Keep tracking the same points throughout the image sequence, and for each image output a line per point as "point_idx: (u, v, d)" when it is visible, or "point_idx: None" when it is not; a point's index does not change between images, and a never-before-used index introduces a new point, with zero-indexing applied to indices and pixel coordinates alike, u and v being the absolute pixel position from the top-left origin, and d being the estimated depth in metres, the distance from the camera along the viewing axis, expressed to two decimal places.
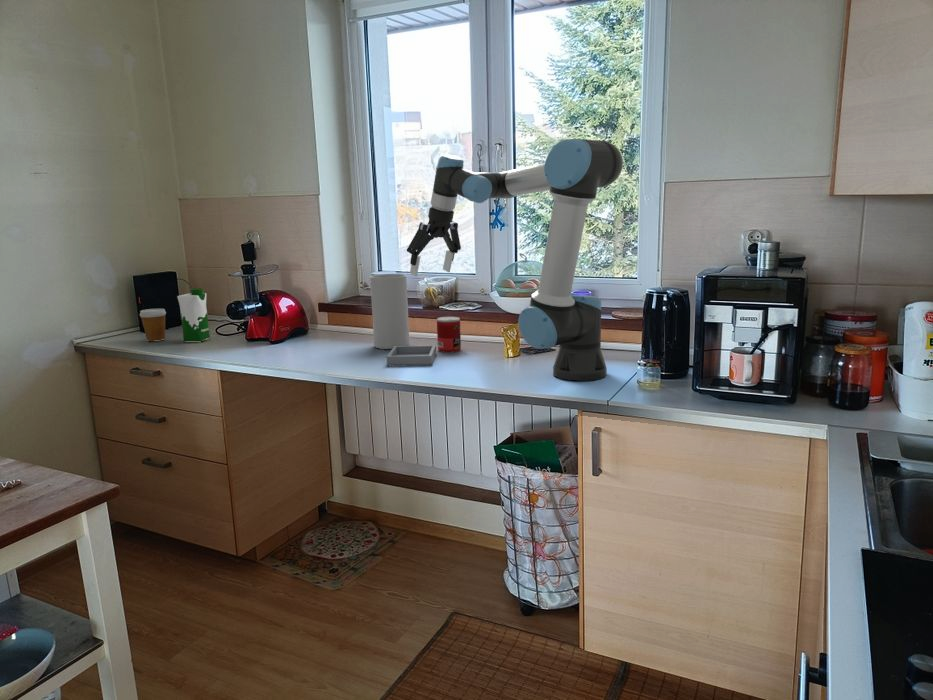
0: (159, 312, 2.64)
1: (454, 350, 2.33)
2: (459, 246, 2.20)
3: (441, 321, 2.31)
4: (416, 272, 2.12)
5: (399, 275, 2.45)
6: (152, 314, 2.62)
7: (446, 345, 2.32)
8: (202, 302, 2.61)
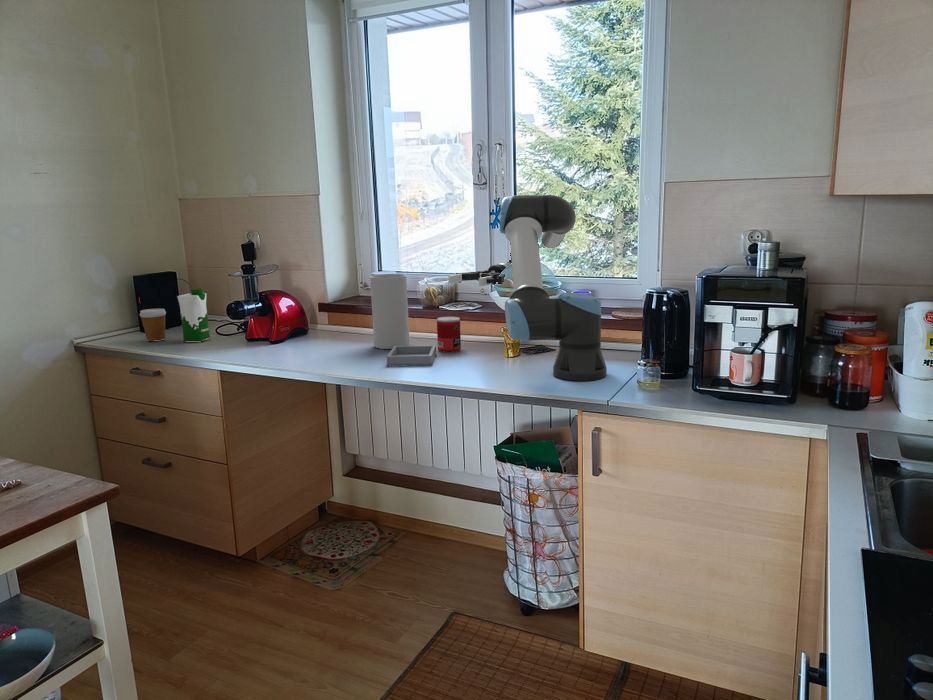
0: (159, 312, 2.64)
1: (454, 350, 2.33)
2: (500, 276, 2.38)
3: (441, 321, 2.31)
4: (451, 275, 2.43)
5: (399, 275, 2.45)
6: (152, 314, 2.62)
7: (446, 345, 2.32)
8: (202, 302, 2.61)
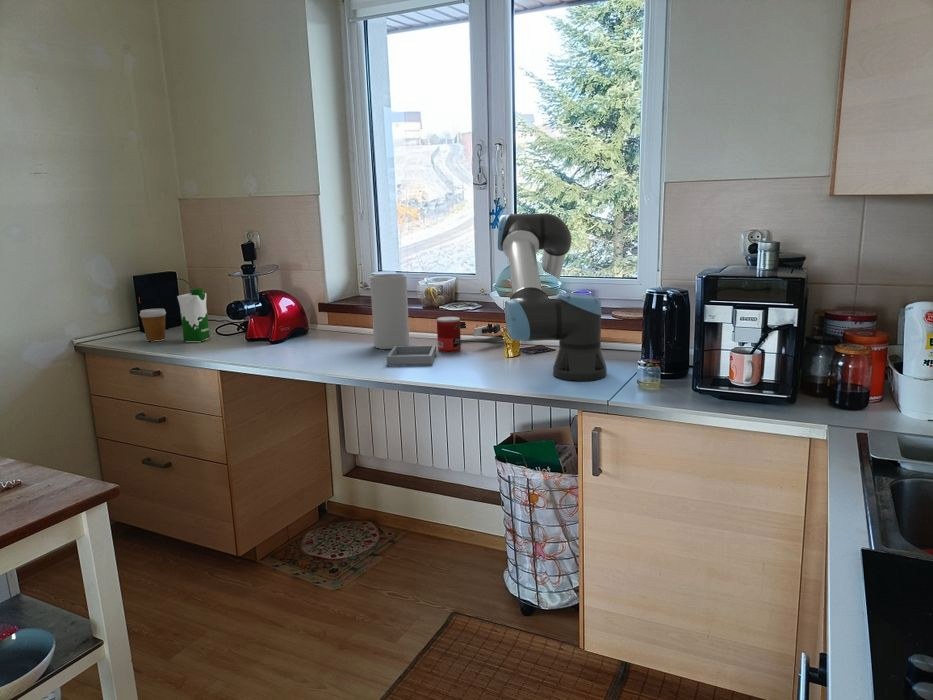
0: (159, 312, 2.64)
1: (454, 350, 2.33)
2: (496, 326, 2.40)
3: (441, 321, 2.31)
4: None
5: (399, 275, 2.45)
6: (152, 314, 2.62)
7: (446, 345, 2.32)
8: (202, 302, 2.61)
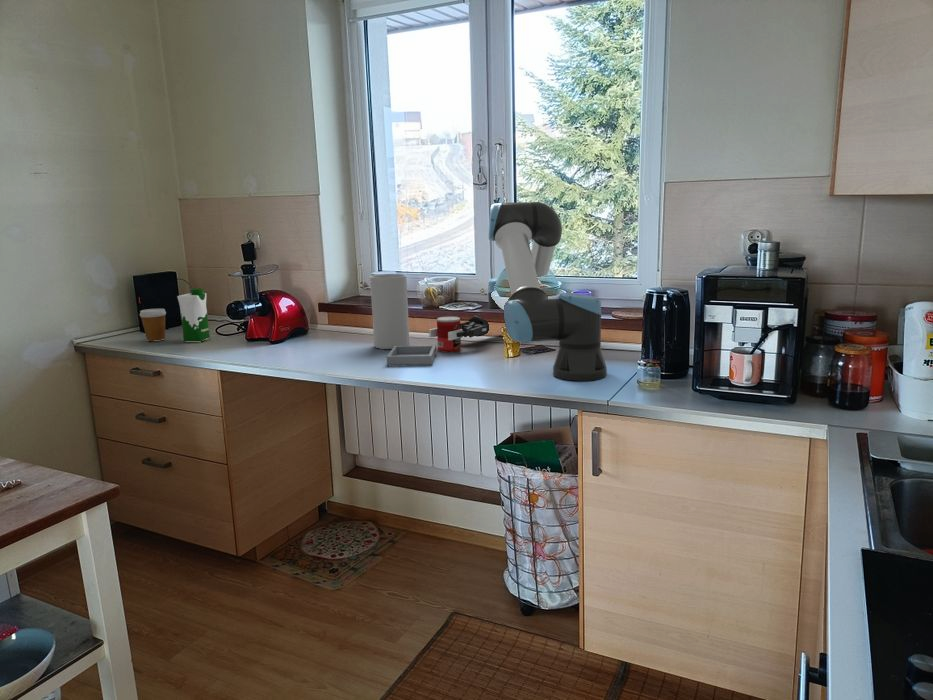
0: (159, 312, 2.64)
1: (454, 350, 2.33)
2: (471, 329, 2.33)
3: (441, 321, 2.31)
4: (432, 329, 2.35)
5: (399, 275, 2.45)
6: (152, 314, 2.62)
7: (446, 345, 2.32)
8: (202, 302, 2.61)
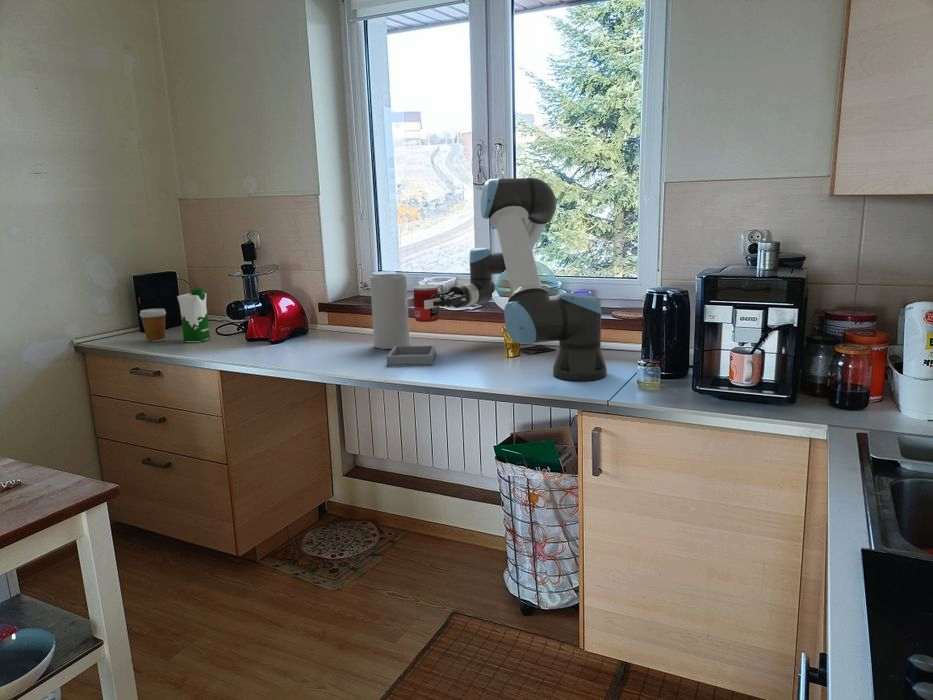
0: (159, 312, 2.64)
1: (431, 320, 2.24)
2: (449, 298, 2.24)
3: (417, 289, 2.23)
4: None
5: (399, 275, 2.45)
6: (152, 314, 2.62)
7: (423, 314, 2.24)
8: (202, 302, 2.61)
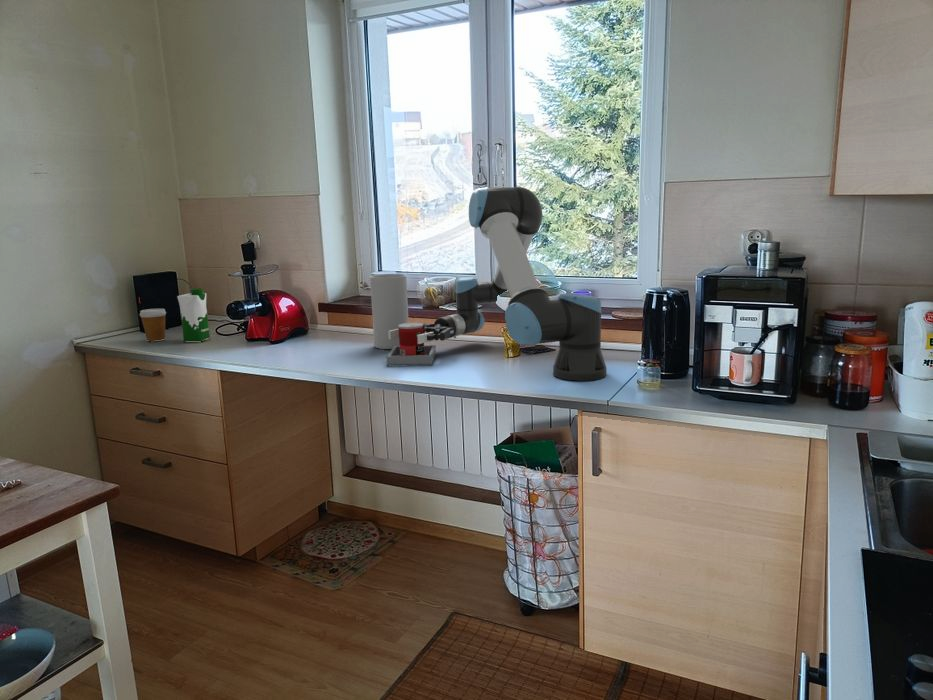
0: (159, 312, 2.64)
1: None
2: (443, 332, 2.19)
3: (402, 328, 2.18)
4: (391, 330, 2.24)
5: (399, 275, 2.45)
6: (152, 314, 2.62)
7: (408, 353, 2.19)
8: (202, 302, 2.61)
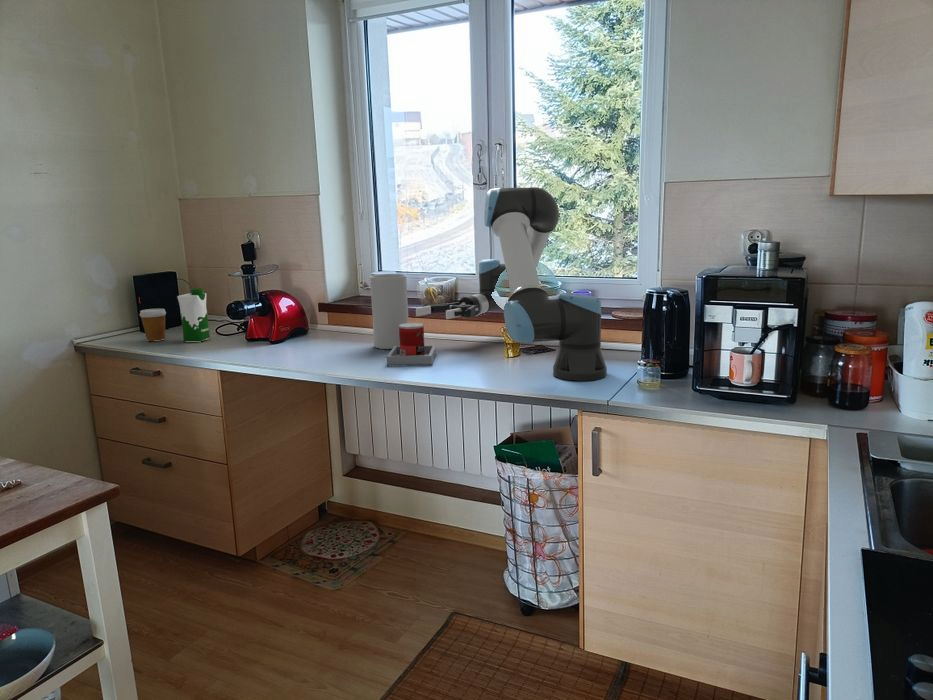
0: (159, 312, 2.64)
1: None
2: (469, 308, 2.28)
3: (403, 328, 2.18)
4: None
5: (399, 275, 2.45)
6: (152, 314, 2.62)
7: (409, 353, 2.19)
8: (202, 302, 2.61)
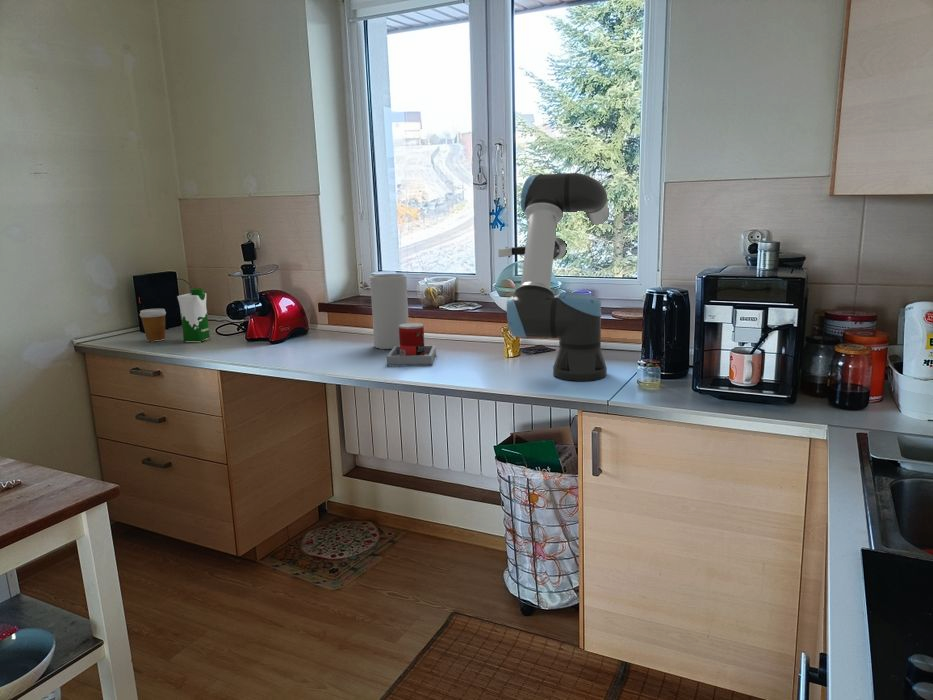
0: (159, 312, 2.64)
1: None
2: None
3: (403, 328, 2.18)
4: (501, 249, 2.36)
5: (399, 275, 2.45)
6: (152, 314, 2.62)
7: (409, 353, 2.19)
8: (202, 302, 2.61)
